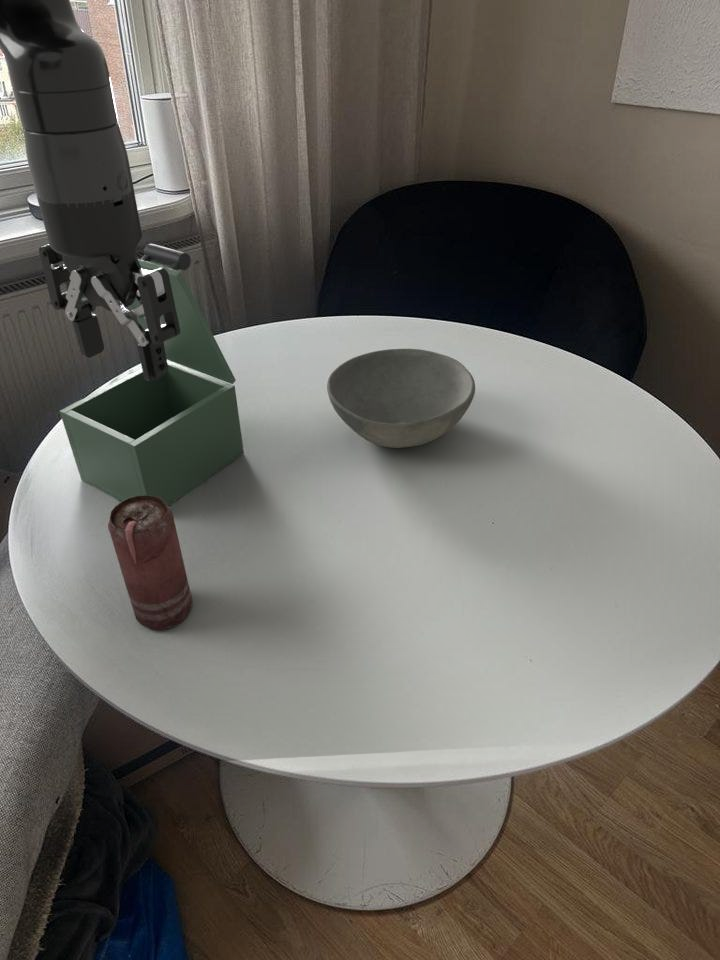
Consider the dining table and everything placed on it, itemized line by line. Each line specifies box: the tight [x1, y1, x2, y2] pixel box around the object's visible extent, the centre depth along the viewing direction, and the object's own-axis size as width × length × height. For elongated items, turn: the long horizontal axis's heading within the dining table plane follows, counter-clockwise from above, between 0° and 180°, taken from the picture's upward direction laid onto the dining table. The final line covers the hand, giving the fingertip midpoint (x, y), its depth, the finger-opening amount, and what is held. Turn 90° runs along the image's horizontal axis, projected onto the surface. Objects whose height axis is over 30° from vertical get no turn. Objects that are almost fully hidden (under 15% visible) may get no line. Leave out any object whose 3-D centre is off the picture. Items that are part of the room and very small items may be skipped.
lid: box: [128, 243, 237, 385], centre depth 90 cm, size 18×14×5 cm
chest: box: [59, 360, 245, 507], centre depth 94 cm, size 17×14×11 cm
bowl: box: [326, 348, 476, 449], centre depth 102 cm, size 21×21×8 cm
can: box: [107, 495, 193, 631], centre depth 72 cm, size 6×6×14 cm
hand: (124, 365), depth 67 cm, fingers open, 8 cm apart
